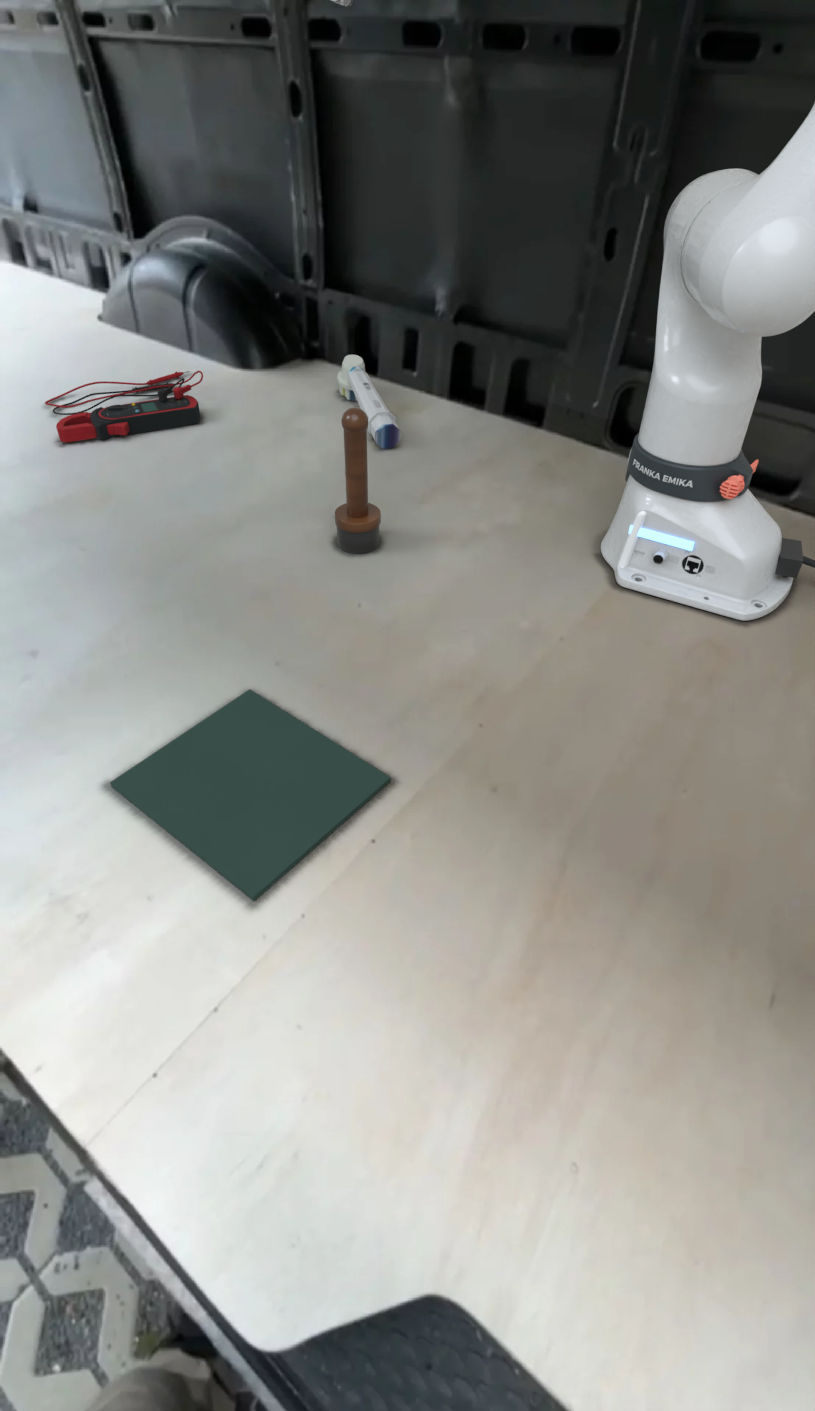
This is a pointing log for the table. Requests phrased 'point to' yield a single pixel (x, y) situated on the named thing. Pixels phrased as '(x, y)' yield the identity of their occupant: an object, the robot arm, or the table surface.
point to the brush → (356, 490)
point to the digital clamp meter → (131, 411)
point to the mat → (251, 790)
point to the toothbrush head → (368, 401)
